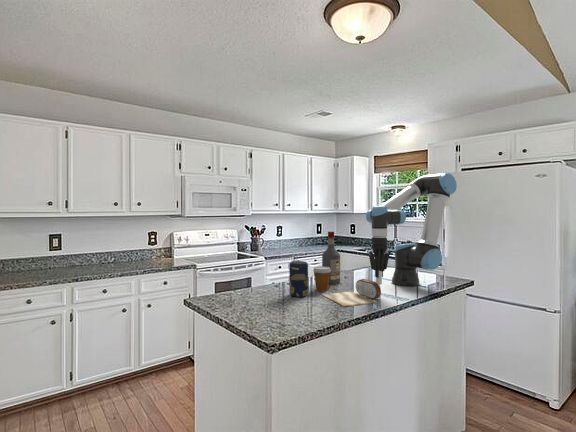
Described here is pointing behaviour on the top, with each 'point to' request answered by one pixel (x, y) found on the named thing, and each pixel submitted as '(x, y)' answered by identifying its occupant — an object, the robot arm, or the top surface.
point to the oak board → (348, 299)
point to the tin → (368, 288)
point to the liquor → (332, 260)
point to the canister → (298, 278)
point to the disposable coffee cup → (321, 277)
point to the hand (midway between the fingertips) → (378, 283)
